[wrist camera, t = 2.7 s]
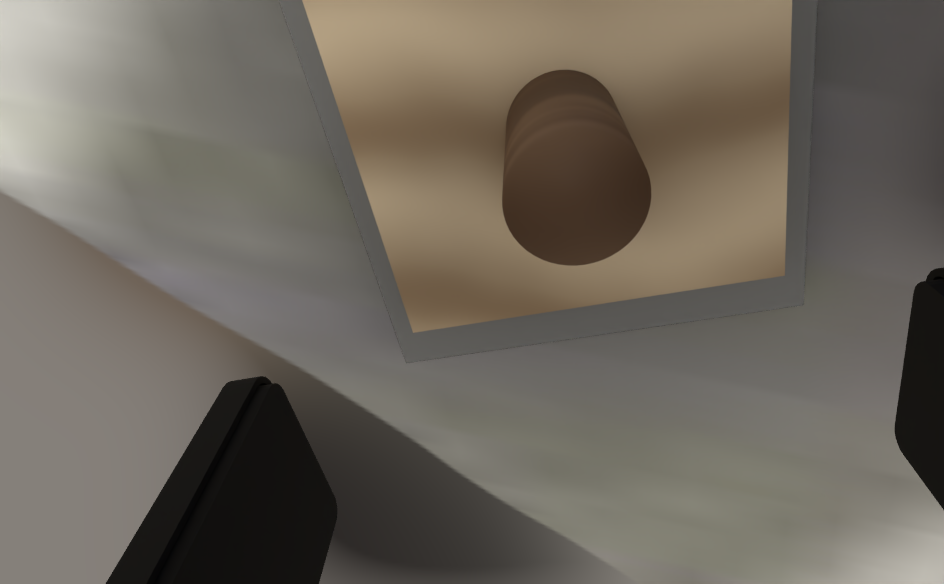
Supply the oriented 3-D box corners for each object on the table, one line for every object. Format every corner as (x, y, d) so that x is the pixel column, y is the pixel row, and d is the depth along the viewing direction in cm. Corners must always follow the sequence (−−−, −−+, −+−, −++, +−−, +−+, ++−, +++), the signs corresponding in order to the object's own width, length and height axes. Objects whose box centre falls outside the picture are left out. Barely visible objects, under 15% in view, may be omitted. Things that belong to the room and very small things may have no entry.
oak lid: (290, -61, 19) (190, -45, 13) (786, -196, 17) (929, -249, 11) (415, 321, 26) (386, 441, 20) (777, 264, 24) (860, 382, 18)
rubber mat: (245, -129, 19) (232, -130, 18) (815, -297, 16) (831, -308, 15) (409, 349, 28) (405, 363, 27) (794, 291, 25) (803, 305, 24)
